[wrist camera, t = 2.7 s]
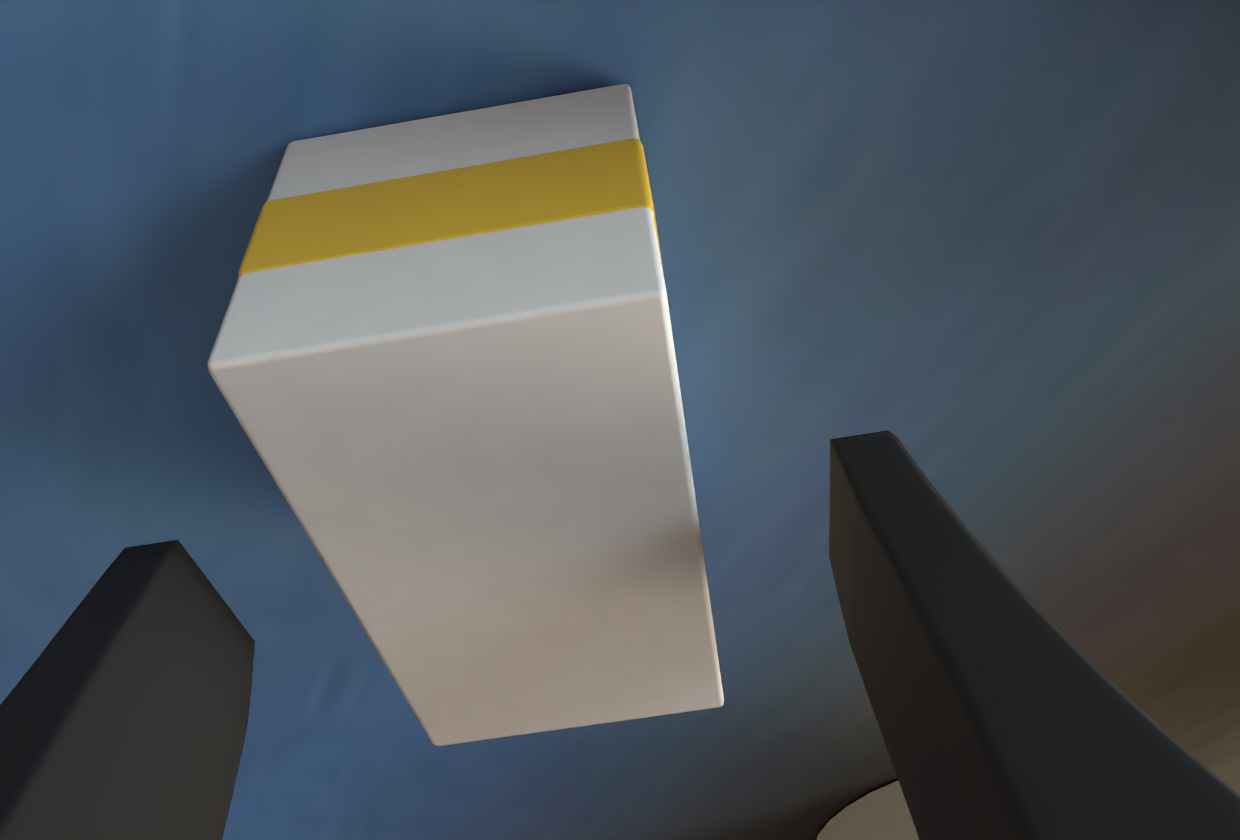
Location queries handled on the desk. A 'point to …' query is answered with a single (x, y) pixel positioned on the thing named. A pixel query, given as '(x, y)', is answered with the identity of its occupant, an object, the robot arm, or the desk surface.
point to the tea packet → (483, 411)
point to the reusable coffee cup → (873, 818)
